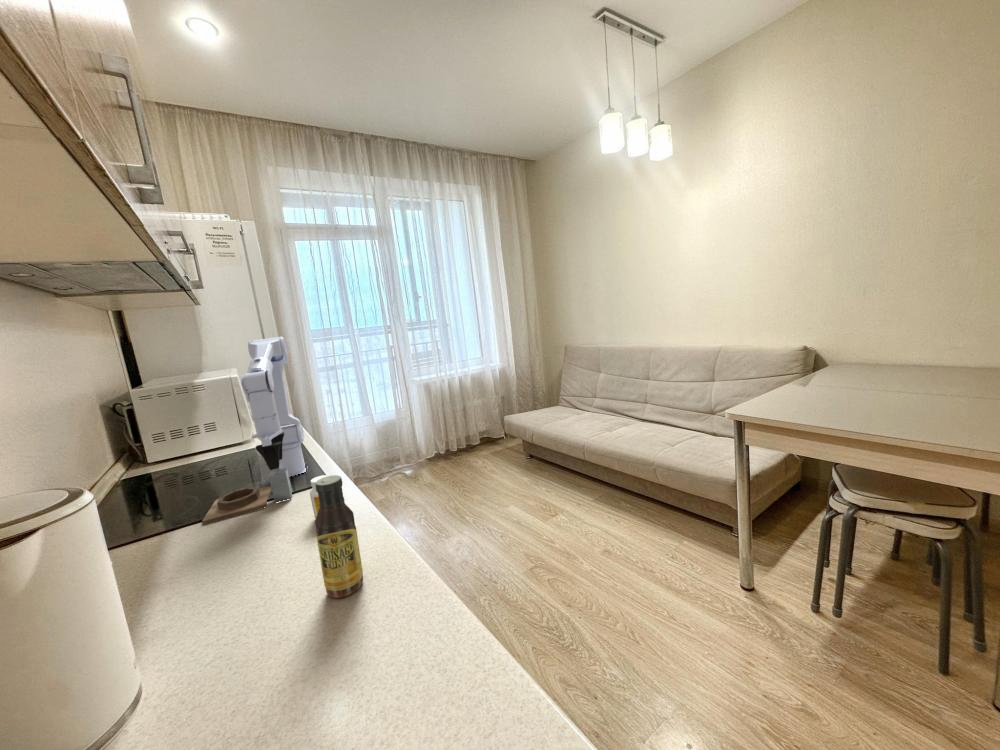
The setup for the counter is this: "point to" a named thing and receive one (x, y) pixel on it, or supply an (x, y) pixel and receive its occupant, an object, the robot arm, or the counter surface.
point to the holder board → (238, 503)
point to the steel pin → (280, 484)
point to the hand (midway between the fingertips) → (276, 464)
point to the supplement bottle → (315, 495)
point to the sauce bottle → (337, 540)
